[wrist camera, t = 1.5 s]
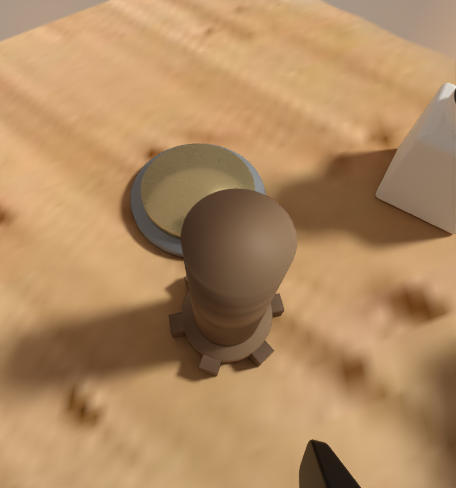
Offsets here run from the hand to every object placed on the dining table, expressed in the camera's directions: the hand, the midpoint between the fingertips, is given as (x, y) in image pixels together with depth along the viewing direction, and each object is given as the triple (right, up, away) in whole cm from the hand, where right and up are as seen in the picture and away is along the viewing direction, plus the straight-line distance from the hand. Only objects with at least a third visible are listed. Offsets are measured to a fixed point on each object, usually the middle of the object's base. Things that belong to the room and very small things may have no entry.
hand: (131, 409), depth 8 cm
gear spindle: (+2, -1, +15) cm, 15 cm away
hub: (0, +8, +19) cm, 21 cm away
